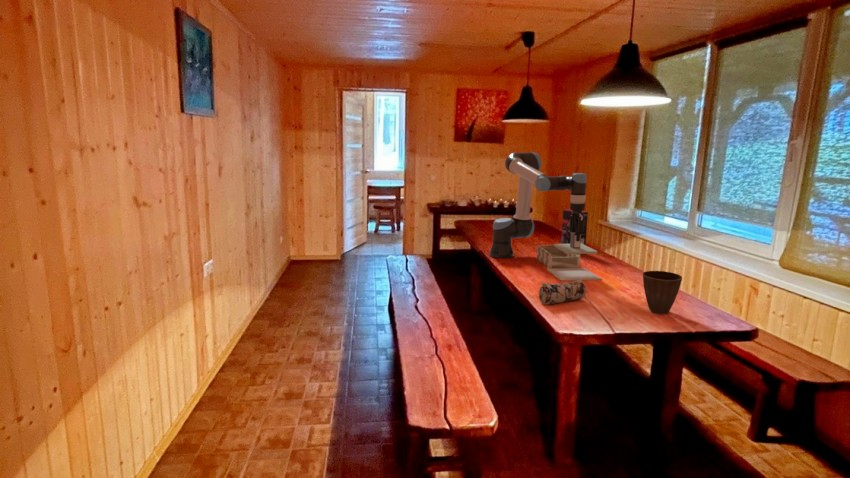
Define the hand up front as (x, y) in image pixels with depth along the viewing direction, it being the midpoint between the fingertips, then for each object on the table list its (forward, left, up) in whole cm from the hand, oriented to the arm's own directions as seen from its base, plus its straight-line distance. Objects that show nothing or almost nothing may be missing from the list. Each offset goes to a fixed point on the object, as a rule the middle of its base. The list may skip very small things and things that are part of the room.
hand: (575, 245), depth 257 cm
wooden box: (0, +24, -16) cm, 29 cm away
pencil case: (-22, -42, -16) cm, 50 cm away
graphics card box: (+22, +55, -16) cm, 61 cm away
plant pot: (+14, -58, -16) cm, 62 cm away
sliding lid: (0, 0, -2) cm, 2 cm away
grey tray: (0, 0, -16) cm, 16 cm away
